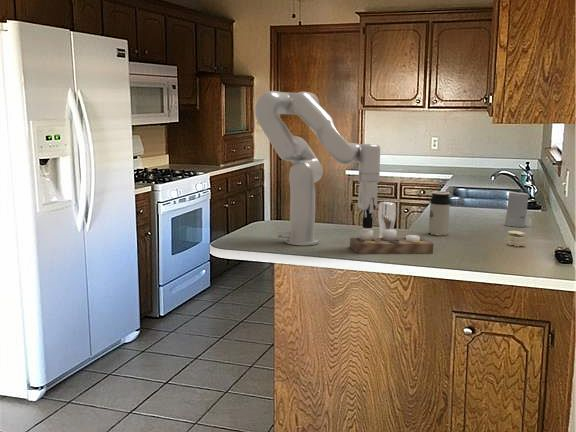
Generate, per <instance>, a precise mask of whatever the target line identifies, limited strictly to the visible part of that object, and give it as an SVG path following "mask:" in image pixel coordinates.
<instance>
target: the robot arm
mask: <svg viewBox="0 0 576 432" xmlns="http://www.w3.org/2000/svg"><path fill="white" fill-rule="evenodd" d="M254 111H255V112H254V113H255V119H256V120H257V123H258V125H259V127H260V128H261V130H262V131H263V133H264V135H265V136H266V138H267V139H268V141H269V143H270V144H271V145H272V148H273V149H274V150H275V152H276V154H277V156H278V157H279V158H280V159H281V160H282V161H284V162H291V163H292V164H293V165H292V166H291V167H290V169H289V172H288V174H289V175H288V180H289V189H290V190H289V191H290V193H289V194H290V195H289V196H290V198H289V200H290V204H289V229H287V231H284V232H277V233H276V234H277V235H276V236H277V238H283V239H284V238H285V240H284V241H285V243H286V244H288V245H293V246H303V247H304V246H307V247H308V246H313V245H314V246H315V245H318V243H319V240H318V239H317V238H315V227H316V226H315V224H316V221H315V220H316V187H315V183H318V182H319V181H320V180H321V178H322V177H323V170H324V168H323V166H322V164H321V162H320V161H319V159H318V157H317V156H316V155H315V153H314V151H313V150H312V148H311V147H310V145H309V143H308V142H307V141H306V140H305V139H304V138H303V137H300V136H297V135H293V134H292V132H291V130H290V129H289V128H288V126H287V125H286V123H285V122H284V121H283V120H282V119H281V117H280V115H294V116H295V115H297V116H298V117H299V118H300V120H302V122H304V123H305V124H306V126H308V127H309V129H310V130H311V131H312V132H313V133H314V134H315V137H316V138H317V139H318V141H319V143H320V144H321V145H322V147H323V148H324V149H325V150H326V151H327V152H328V153H329V154H330V156H331V157H332V158H333V159H335V161H337V162H338V163H339V164H342V165H350V164H355V163H358V181H357V182H358V183H359V187H358V197H357V206H358V208H360V209H361V210H362V228H363V229H373V215H374V210H377V208H378V184H379V183H380V173H381V172H380V170H381V169H380V168H381V147H380V145H379V144H375V143H362V144H361V143H355V142H348V141H347V140H346V139H344V137H343V136H342V135H341V134H340V133H339V132H338V131H337V128H336V126H335V124H334V123H335V122H334V119H333V117H332V116H331V115H330V114H329V113H328V112H327V111H326V109H324V107H322V106H321V104H320V100H319V98H318V96H317V95H316V94H315V93H313V92H309V91H299V92H288V91H287V92H286V91H283V92H282V91H279V90H278V91H277V90H268V91H265V92H263V93H261V95H260V96H259V97H258V99H257V100H256V104H255V110H254Z"/></svg>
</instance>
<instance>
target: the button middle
mask: <svg viewBox="0 0 576 432" xmlns="http://www.w3.org/2000/svg"><path fill="white" fill-rule="evenodd" d="M397 234H398V231H397V229H394V228H393V229H384V230H383V241H396V238H398V237H397V236H398V235H397Z"/></svg>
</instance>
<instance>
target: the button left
mask: <svg viewBox="0 0 576 432" xmlns="http://www.w3.org/2000/svg"><path fill="white" fill-rule="evenodd" d="M358 234H359V236H358V238H359V241H373V238H374V230H373V229H370V228H363V229H359V233H358Z"/></svg>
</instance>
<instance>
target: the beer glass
mask: <svg viewBox="0 0 576 432" xmlns="http://www.w3.org/2000/svg"><path fill="white" fill-rule="evenodd" d="M378 204H379V205H378V212H377V213H378V214H377V216H378V227H379V234H378V238H383V230H384V229H393V230H394V227H395V223H396V219H397V202H391V201H381V202H378Z"/></svg>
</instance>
